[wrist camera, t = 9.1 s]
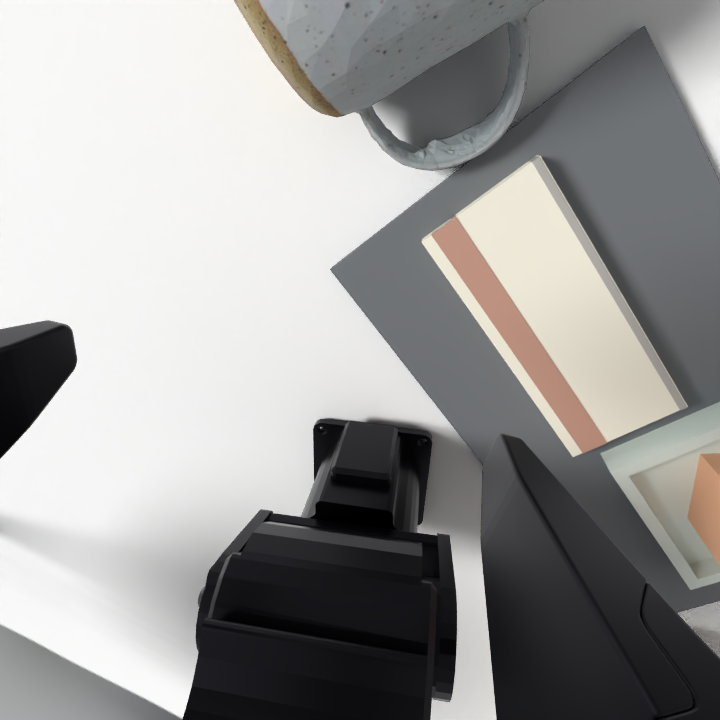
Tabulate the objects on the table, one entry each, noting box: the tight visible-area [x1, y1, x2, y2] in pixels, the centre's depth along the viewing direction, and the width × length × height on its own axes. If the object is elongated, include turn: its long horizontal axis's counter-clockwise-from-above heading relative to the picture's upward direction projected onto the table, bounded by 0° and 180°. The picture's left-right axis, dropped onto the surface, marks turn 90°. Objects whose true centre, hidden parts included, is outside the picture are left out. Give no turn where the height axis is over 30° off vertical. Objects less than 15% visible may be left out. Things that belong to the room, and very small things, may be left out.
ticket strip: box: [422, 155, 688, 457], centre depth 20 cm, size 5×13×1 cm, turn 38°
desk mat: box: [330, 26, 720, 613], centre depth 22 cm, size 14×28×1 cm, turn 38°
